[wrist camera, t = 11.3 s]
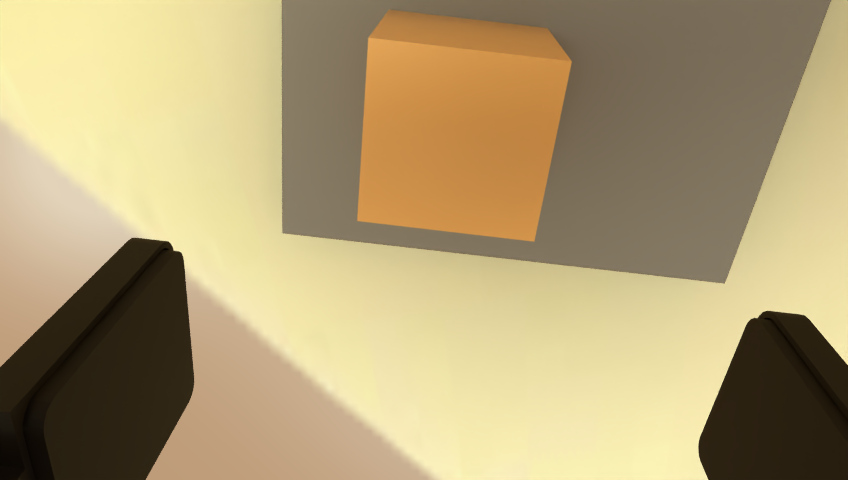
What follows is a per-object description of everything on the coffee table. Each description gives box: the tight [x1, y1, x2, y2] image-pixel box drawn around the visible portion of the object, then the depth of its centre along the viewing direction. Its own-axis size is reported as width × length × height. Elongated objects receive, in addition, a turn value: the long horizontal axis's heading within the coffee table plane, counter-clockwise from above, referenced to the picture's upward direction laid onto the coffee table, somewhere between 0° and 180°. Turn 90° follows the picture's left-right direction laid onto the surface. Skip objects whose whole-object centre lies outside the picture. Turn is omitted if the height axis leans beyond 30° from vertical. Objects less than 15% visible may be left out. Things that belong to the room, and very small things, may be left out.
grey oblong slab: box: [282, 0, 831, 283], centre depth 26 cm, size 20×14×2 cm
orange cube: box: [357, 10, 572, 242], centre depth 23 cm, size 6×6×6 cm
